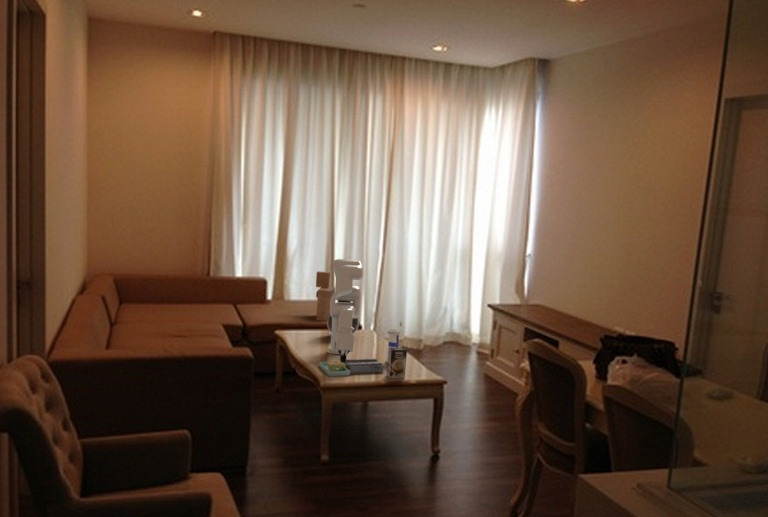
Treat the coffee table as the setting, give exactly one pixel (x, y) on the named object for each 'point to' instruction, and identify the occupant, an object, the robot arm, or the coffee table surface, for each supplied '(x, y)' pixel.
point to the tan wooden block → (340, 365)
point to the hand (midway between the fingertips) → (343, 361)
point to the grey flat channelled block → (363, 365)
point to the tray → (333, 373)
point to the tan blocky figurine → (323, 295)
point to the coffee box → (396, 362)
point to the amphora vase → (354, 321)
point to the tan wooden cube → (331, 366)
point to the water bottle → (393, 340)
